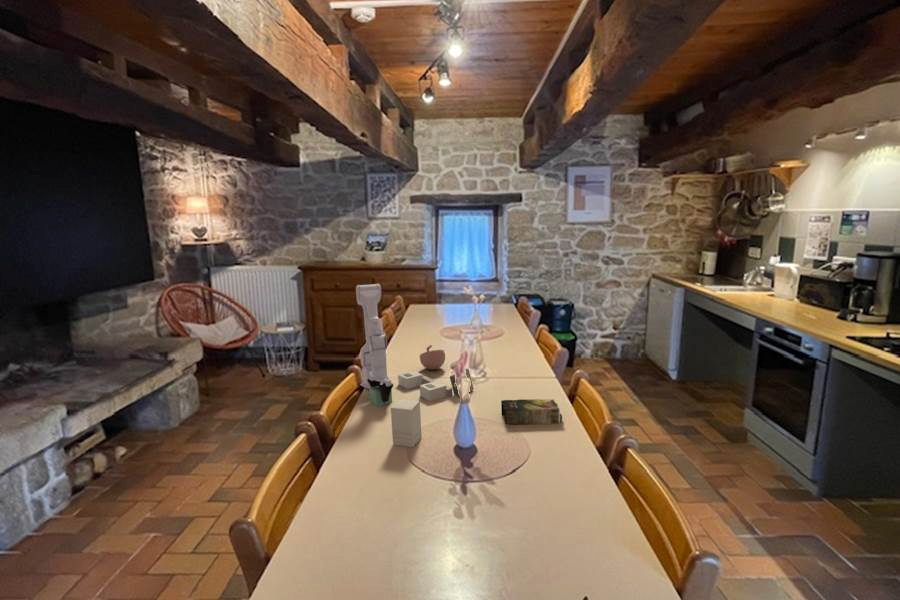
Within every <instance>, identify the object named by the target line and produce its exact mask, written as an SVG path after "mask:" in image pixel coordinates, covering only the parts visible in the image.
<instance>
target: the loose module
mask: <svg viewBox="0 0 900 600" xmlns="http://www.w3.org/2000/svg"><path fill="white" fill-rule="evenodd" d="M392 389H393V388H392ZM392 389H391V392H390V396H389V401H387V402H383V400H382V395H381V391H380V389H379V387H378V386H375V387H372V388H369V390H368V391H369V392H368V393H369V403H370V402H371V403H370V404H372V405H373V406H375V407H379V406H382V405H385V404H389V403H392V402H393V394H392V393H393V391H392Z"/></svg>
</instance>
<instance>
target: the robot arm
mask: <svg viewBox="0 0 900 600" xmlns="http://www.w3.org/2000/svg"><path fill="white" fill-rule="evenodd" d="M355 296H356V302H357V305H359V306H361V308H362V311H363V320H364V331H365V345H363V346H362V347H361V348H360V351H359V353H360V365H361V367H362V368H361V381H362V382H361V383H360V386H362V387H363V388H365V389H366V388H367V389H366V390H368V389H369V388H372V387H375V386H378V387H379V389H380V391H381V395H382V400H383V402H387V401H389V396H390V392H391V389H393V387H394V383H392V380H391V379H390V378H389V376H388V369H387V366H388V365H387V348H388V341H387V335H386V333H385V331H384V326H383V322H382V319H381V318H379V316H378V315H379V313H378V312H379V311H378V304H379V303H380V301H381V298H382V287H381V284H380V283H374V284H357V285H356V286H355Z"/></svg>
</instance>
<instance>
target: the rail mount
mask: <svg viewBox="0 0 900 600" xmlns="http://www.w3.org/2000/svg"><path fill="white" fill-rule="evenodd" d="M397 380H398V381H397V382H398V386H400V387H402V388H405V389H406V390H409V389H413V388H416V387H419V396H420V397H421V398H423V399H425V400H426V401H428V402H432V401H435V400H439V399H442V398H445V397H447V398H449V397H452V396H453V388H452V387H450V386H448V385H446V384H444V383H442V382H441V381H440V382H439V381H437V380H435V379H433V378H431V377H428V376H425V375H424V374H422V373H420V372H419V371H418V372H417V371H415V370H411V371H407V372H404V373H403V372H402V373H399V374H397Z"/></svg>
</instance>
